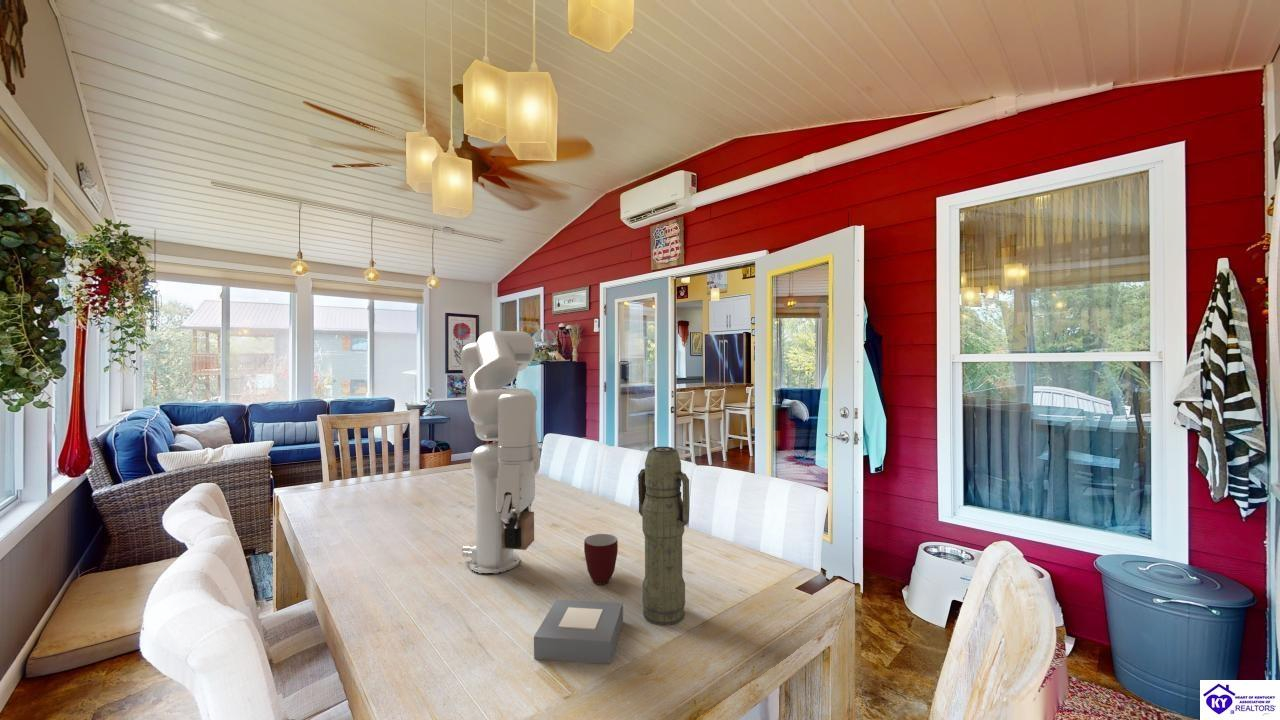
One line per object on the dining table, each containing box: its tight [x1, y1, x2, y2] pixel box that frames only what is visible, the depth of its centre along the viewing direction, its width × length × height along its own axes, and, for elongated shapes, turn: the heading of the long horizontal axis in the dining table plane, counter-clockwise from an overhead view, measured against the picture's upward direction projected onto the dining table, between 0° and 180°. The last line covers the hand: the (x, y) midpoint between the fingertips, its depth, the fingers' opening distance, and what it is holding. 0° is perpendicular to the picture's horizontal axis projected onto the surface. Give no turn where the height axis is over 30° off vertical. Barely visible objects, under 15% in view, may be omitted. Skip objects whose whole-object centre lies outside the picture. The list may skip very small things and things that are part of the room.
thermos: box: [637, 446, 690, 626], centre depth 105 cm, size 9×12×35 cm
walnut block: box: [501, 510, 535, 551], centre depth 102 cm, size 5×5×6 cm
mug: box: [583, 533, 619, 585], centre depth 122 cm, size 10×8×10 cm
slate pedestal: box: [533, 598, 624, 665], centre depth 96 cm, size 14×14×4 cm
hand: (518, 540), depth 102 cm, fingers closed on walnut block, 5 cm apart
